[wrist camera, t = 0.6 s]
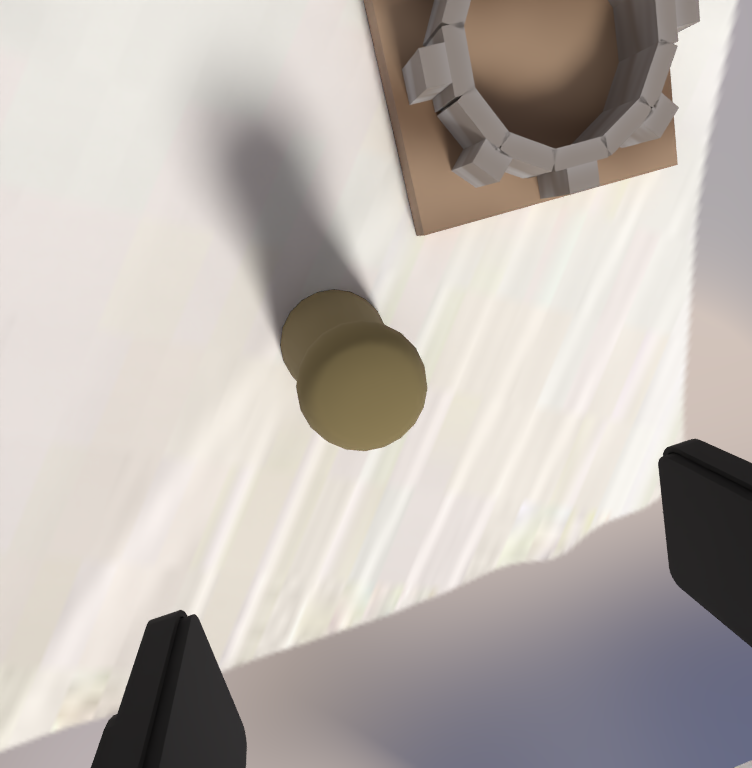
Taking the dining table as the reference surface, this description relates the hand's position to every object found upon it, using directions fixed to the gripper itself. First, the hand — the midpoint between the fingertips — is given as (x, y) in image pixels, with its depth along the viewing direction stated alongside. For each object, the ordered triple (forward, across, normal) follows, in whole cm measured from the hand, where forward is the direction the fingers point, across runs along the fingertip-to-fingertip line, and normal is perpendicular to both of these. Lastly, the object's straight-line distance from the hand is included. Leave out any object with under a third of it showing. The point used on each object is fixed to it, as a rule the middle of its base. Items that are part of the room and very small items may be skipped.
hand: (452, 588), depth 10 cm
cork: (+21, 0, -1) cm, 21 cm away
